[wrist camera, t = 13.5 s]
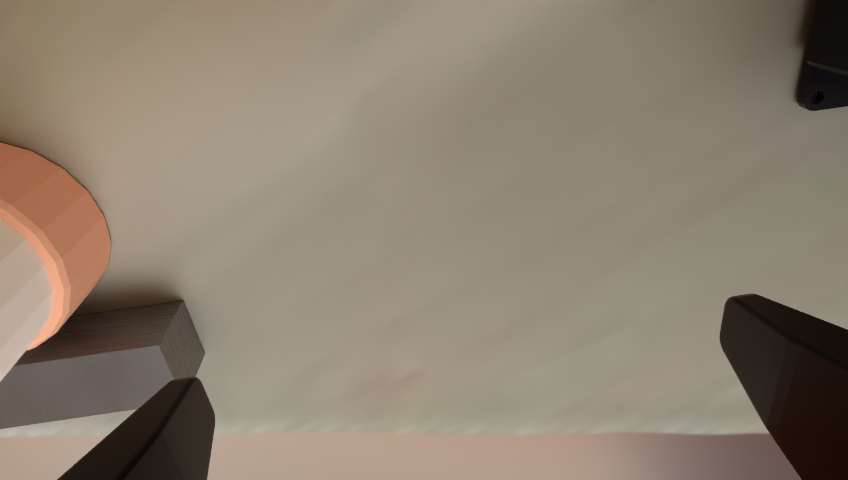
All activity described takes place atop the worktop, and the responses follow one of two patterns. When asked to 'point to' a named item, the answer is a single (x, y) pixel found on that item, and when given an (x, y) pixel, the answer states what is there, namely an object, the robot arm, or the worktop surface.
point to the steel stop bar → (101, 365)
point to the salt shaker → (43, 250)
